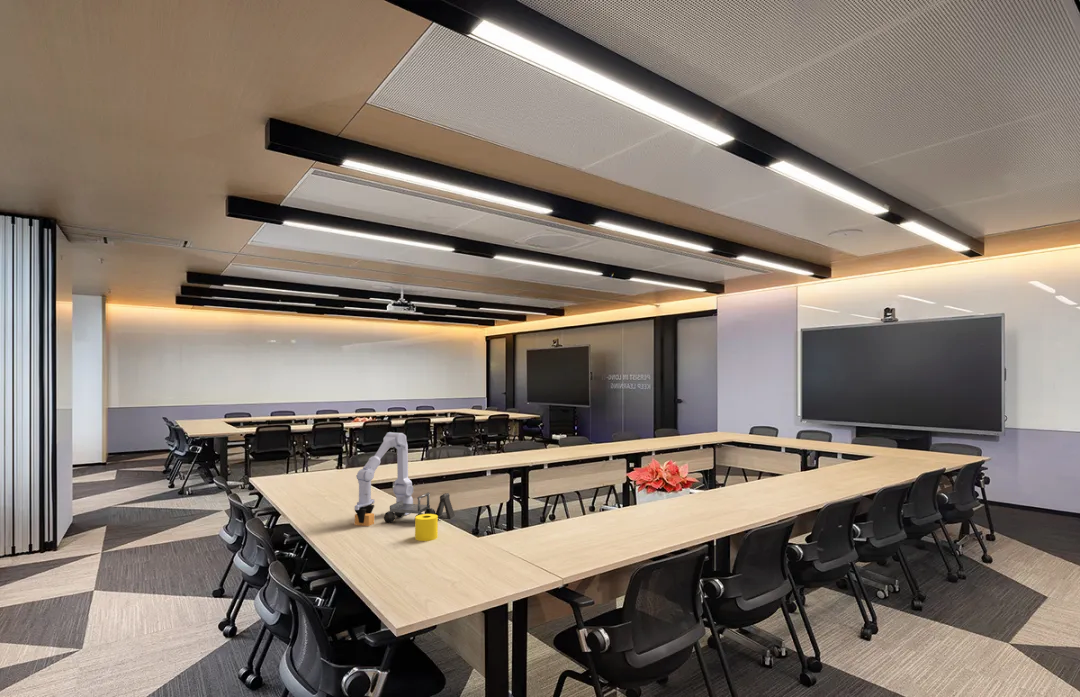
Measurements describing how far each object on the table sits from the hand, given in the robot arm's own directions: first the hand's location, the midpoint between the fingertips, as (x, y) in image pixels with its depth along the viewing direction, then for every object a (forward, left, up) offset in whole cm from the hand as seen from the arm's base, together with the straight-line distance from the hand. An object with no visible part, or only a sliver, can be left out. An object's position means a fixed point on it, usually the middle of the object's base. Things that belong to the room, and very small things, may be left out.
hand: (364, 521), depth 269 cm
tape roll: (+13, +40, -2) cm, 42 cm away
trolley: (-11, +19, -1) cm, 22 cm away
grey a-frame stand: (-22, +33, -2) cm, 40 cm away
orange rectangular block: (0, 0, -1) cm, 1 cm away
